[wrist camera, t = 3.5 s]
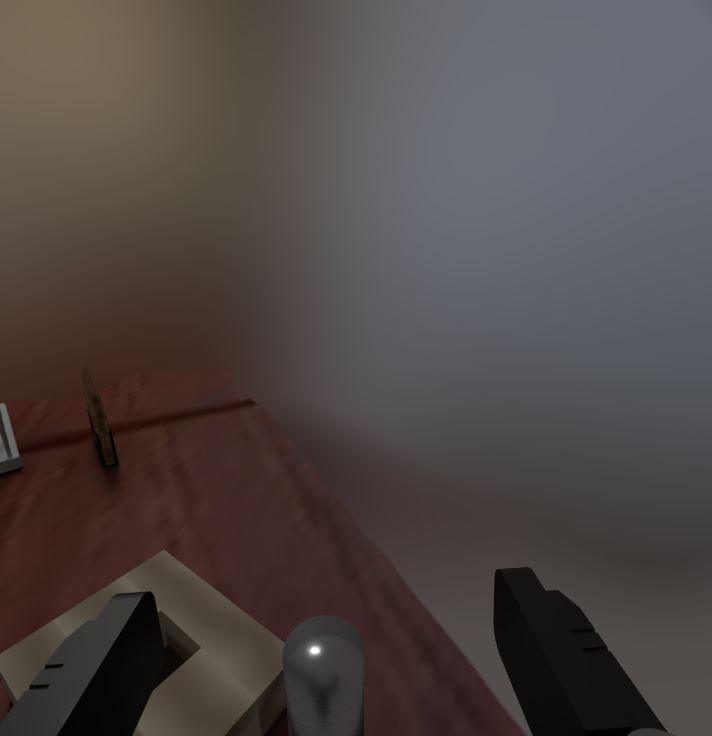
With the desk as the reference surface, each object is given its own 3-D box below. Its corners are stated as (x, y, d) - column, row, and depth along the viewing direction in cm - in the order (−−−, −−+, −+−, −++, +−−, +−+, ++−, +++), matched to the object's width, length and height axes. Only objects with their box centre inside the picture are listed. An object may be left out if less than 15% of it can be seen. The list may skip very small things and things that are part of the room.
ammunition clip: (93, 438, 65) (76, 364, 61) (107, 435, 66) (91, 361, 62) (103, 469, 56) (83, 385, 53) (119, 464, 58) (100, 382, 54)
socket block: (126, 911, 20) (109, 864, 19) (9, 700, 29) (-7, 658, 28) (300, 694, 29) (297, 653, 28) (170, 585, 38) (163, 549, 37)
